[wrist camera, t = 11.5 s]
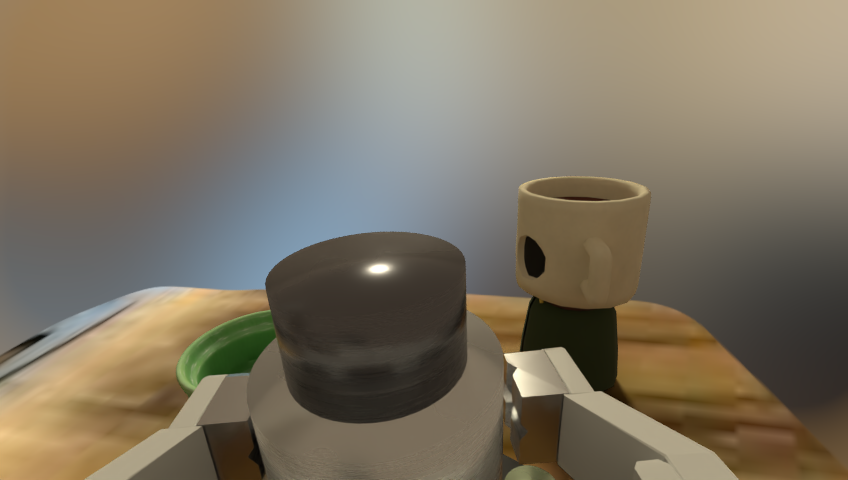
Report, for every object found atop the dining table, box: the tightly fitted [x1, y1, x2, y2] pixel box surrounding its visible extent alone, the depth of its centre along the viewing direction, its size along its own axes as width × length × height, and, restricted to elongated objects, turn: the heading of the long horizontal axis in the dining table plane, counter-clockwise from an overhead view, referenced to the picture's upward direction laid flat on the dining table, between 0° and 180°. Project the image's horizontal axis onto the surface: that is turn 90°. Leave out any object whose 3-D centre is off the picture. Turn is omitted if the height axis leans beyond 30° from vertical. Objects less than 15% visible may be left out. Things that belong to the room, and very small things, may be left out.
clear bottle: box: [247, 232, 504, 480], centre depth 9 cm, size 5×5×11 cm
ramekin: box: [176, 310, 276, 398], centre depth 26 cm, size 9×9×4 cm
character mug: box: [516, 176, 651, 392], centre depth 25 cm, size 11×7×13 cm, turn 172°
